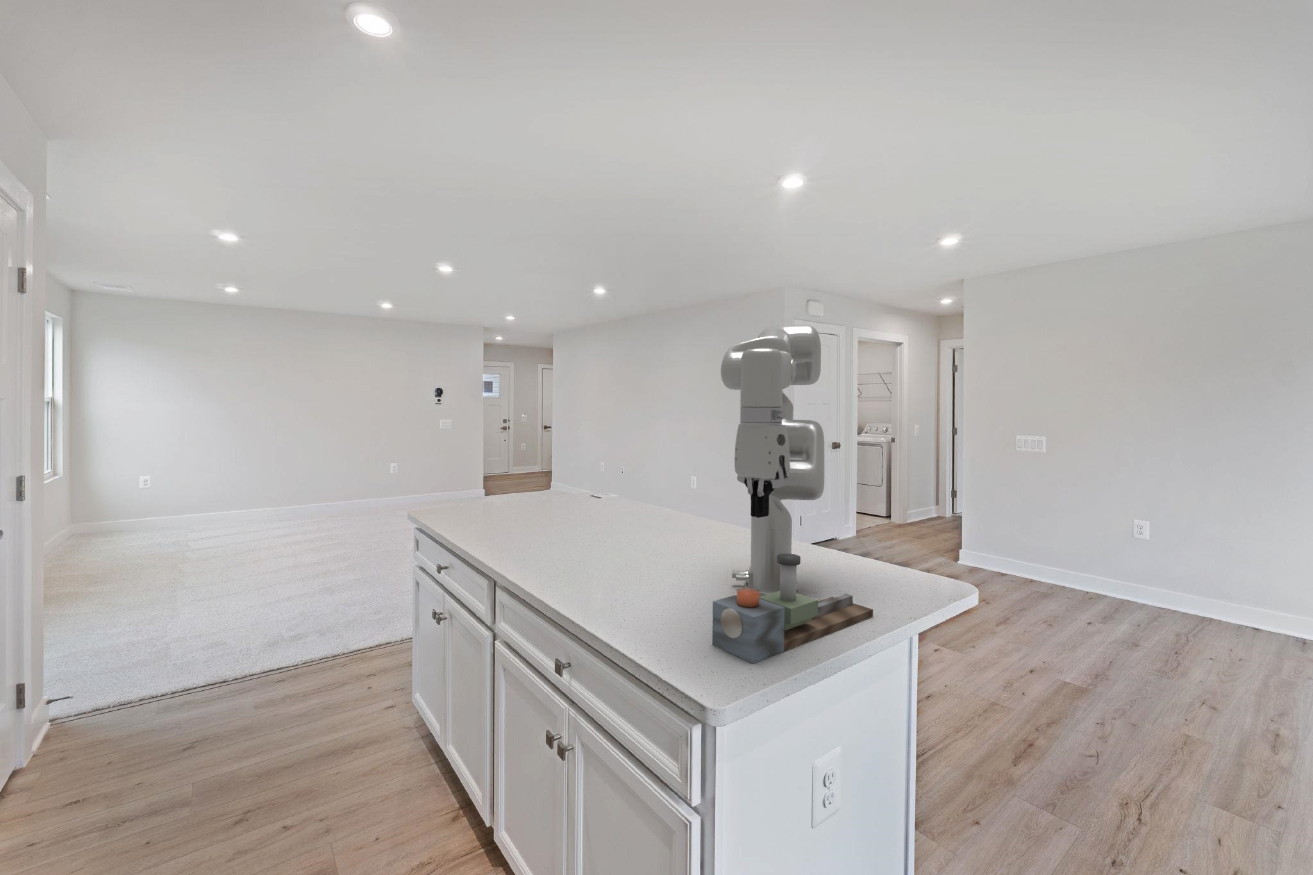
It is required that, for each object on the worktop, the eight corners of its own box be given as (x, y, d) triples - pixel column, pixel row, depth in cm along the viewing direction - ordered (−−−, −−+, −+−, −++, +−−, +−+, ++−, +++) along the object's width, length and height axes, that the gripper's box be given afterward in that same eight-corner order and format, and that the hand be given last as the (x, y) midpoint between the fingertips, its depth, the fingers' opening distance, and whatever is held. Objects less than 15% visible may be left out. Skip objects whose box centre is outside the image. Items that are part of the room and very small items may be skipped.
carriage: (790, 632, 104) (791, 564, 103) (757, 620, 110) (758, 555, 109) (817, 623, 109) (819, 557, 108) (784, 611, 115) (785, 549, 114)
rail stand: (751, 664, 96) (752, 617, 96) (710, 644, 104) (711, 601, 104) (872, 616, 119) (873, 578, 118) (831, 603, 127) (832, 567, 126)
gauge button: (748, 608, 100) (748, 597, 99) (732, 602, 103) (732, 591, 103) (763, 603, 102) (764, 592, 102) (747, 597, 105) (747, 587, 105)
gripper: (807, 417, 100) (805, 520, 101) (745, 415, 112) (744, 507, 113) (779, 418, 96) (777, 526, 97) (717, 416, 107) (717, 512, 109)
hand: (759, 515), depth 105 cm, fingers closed
